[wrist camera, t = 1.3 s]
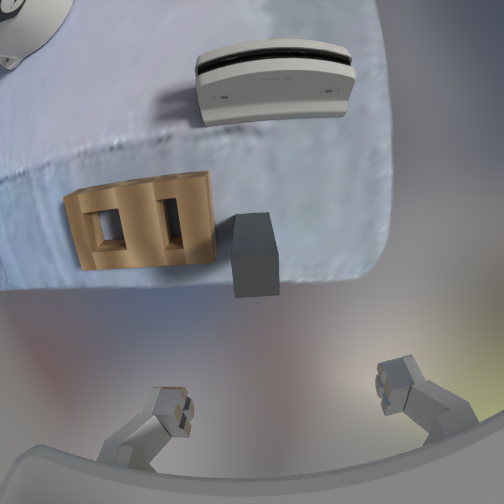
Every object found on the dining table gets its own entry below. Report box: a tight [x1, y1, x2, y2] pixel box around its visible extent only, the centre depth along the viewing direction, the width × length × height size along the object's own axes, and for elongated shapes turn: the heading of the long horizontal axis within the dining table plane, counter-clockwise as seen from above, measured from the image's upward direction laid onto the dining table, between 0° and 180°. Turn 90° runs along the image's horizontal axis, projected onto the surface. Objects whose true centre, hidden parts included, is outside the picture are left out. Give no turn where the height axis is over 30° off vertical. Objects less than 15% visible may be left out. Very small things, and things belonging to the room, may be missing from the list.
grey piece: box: [195, 39, 356, 127], centre depth 26 cm, size 17×5×10 cm, turn 96°
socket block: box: [63, 171, 218, 270], centre depth 34 cm, size 18×10×4 cm, turn 94°
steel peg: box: [231, 212, 280, 298], centre depth 31 cm, size 4×4×12 cm
